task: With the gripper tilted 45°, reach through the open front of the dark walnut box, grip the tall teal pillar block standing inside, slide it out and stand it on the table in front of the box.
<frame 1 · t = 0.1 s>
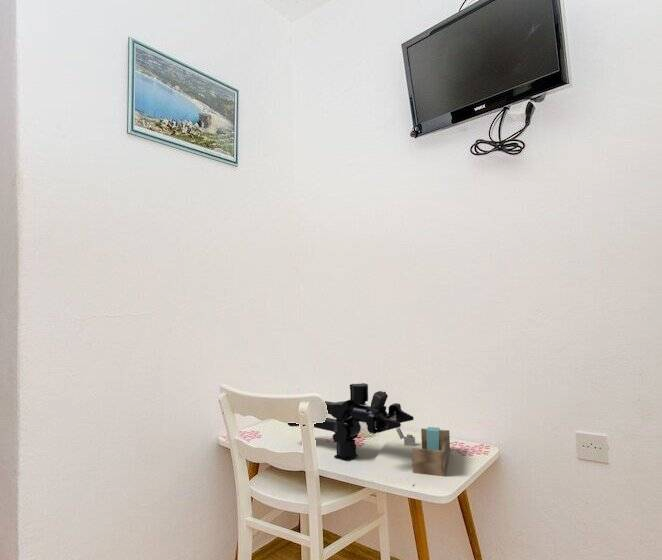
hand: (407, 421, 140), 17 cm above the table, tool horizontal, fingers open, 9 cm apart
pillar block: (434, 461, 144), point 1 cm above the table, touching open box
open box: (434, 466, 144), on the table
lighter: (405, 449, 161), on the table
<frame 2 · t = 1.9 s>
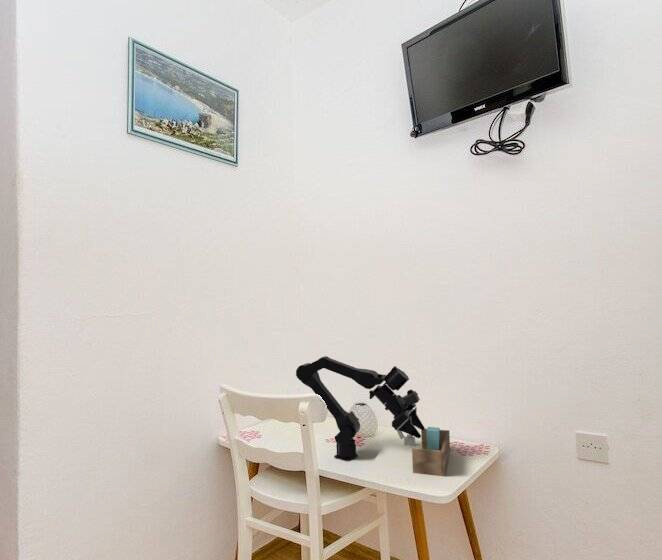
hand: (422, 433, 146), 11 cm above the table, tool tilted 45°, fingers open, 9 cm apart
nothing on the table moved.
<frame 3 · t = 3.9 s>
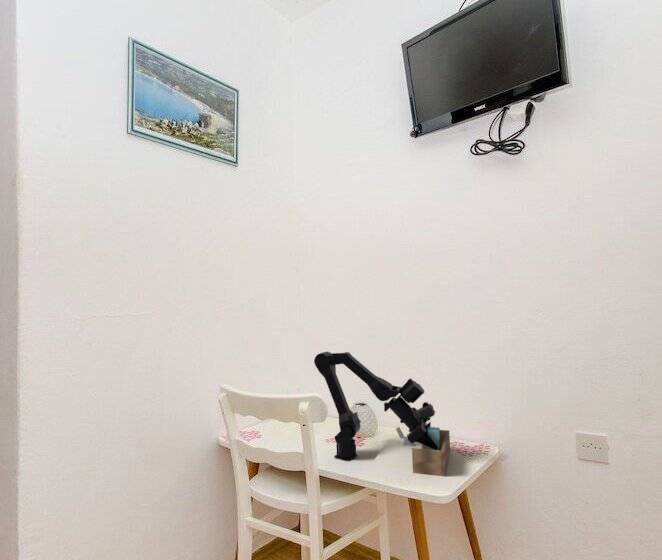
hand: (437, 446, 144), 7 cm above the table, tool tilted 45°, fingers closed on pillar block, 4 cm apart
pillar block: (434, 461, 144), point 2 cm above the table, touching gripper, open box
everything else where it was.
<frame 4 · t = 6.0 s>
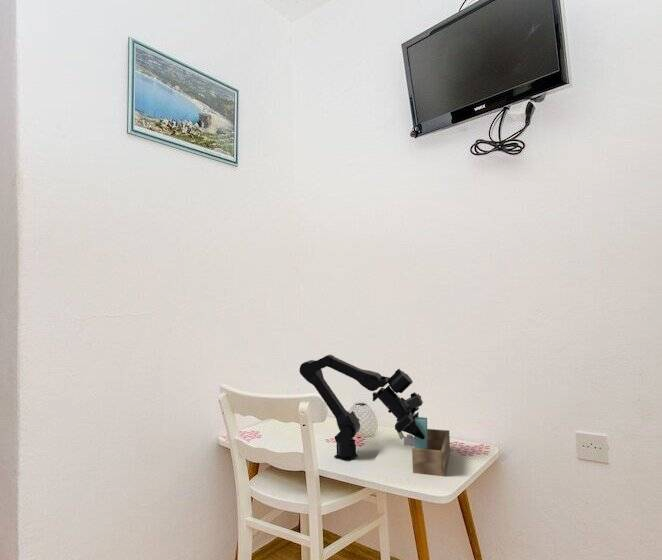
hand: (424, 436, 145), 10 cm above the table, tool tilted 45°, fingers closed on pillar block, 4 cm apart
pillar block: (421, 451, 145), point 5 cm above the table, touching gripper
everything else where it was.
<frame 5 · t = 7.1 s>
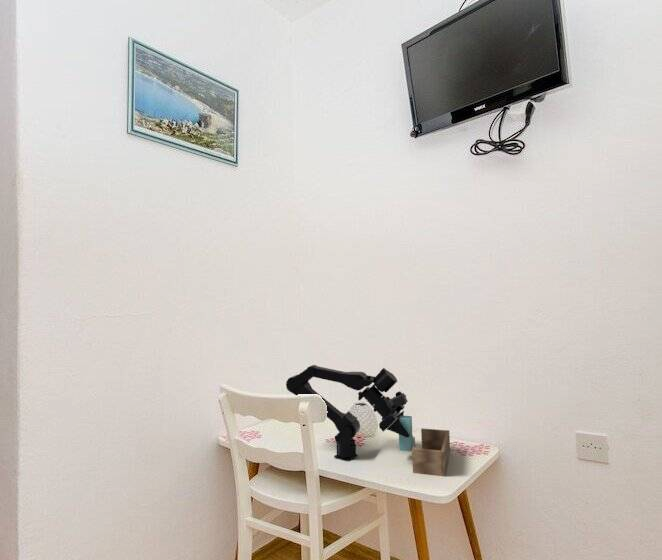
hand: (409, 434, 147), 10 cm above the table, tool tilted 45°, fingers closed on pillar block, 4 cm apart
pillar block: (406, 449, 147), point 5 cm above the table, touching gripper
everything else where it was.
when the fingers open (6 cm above the table, at t = 8.1 s): pillar block drops 1 cm, on the table.
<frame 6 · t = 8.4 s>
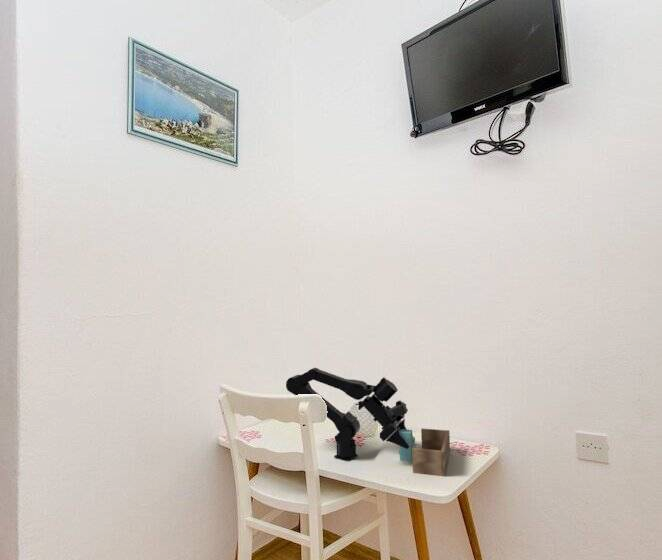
hand: (410, 444, 147), 7 cm above the table, tool tilted 45°, fingers open, 7 cm apart
pillar block: (406, 463, 147), on the table
everything else where it was.
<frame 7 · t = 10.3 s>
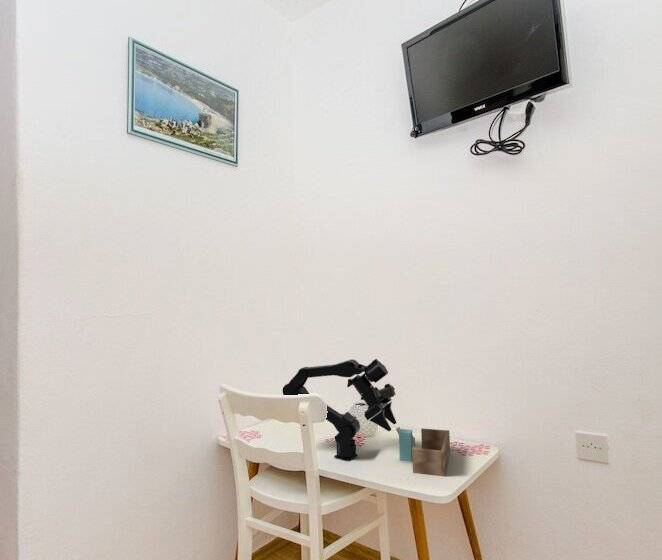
hand: (393, 427, 149), 12 cm above the table, tool tilted 35°, fingers open, 9 cm apart
nothing on the table moved.
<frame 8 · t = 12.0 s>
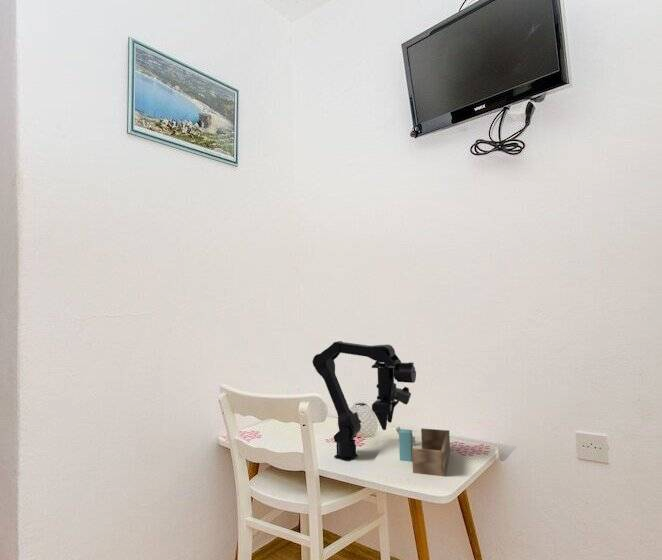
hand: (387, 425, 147), 13 cm above the table, tool pointing down, fingers open, 9 cm apart
nothing on the table moved.
at the end: pillar block inside the target area (1.2 cm from its centre), on the table; pillar block tilted 0°; the gripper is holding nothing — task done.
